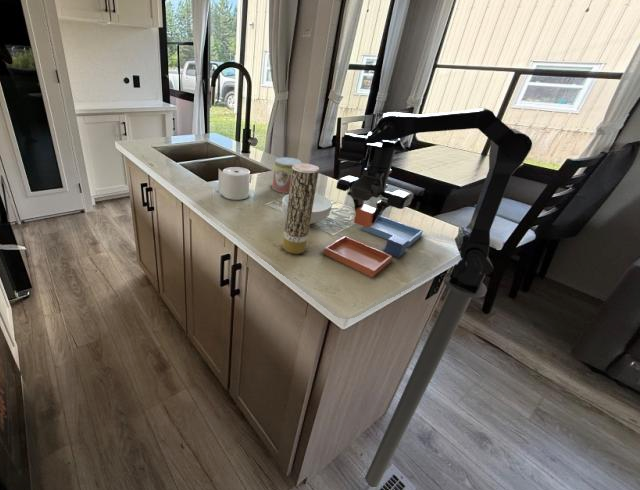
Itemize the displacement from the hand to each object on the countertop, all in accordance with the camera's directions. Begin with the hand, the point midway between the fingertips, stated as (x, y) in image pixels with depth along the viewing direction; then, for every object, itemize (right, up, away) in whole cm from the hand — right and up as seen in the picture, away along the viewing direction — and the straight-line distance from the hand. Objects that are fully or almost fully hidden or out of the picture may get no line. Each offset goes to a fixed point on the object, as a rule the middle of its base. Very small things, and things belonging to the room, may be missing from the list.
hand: (365, 219), depth 91 cm
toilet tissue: (-38, +12, +41) cm, 57 cm away
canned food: (-16, +16, +50) cm, 55 cm away
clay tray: (-2, -11, +3) cm, 11 cm away
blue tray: (+15, -4, +17) cm, 23 cm away
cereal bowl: (-12, +1, +24) cm, 27 cm away
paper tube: (-19, -9, +6) cm, 22 cm away
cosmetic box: (+14, +6, +34) cm, 38 cm away
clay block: (0, -1, 0) cm, 1 cm away
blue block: (+11, -9, +6) cm, 16 cm away
